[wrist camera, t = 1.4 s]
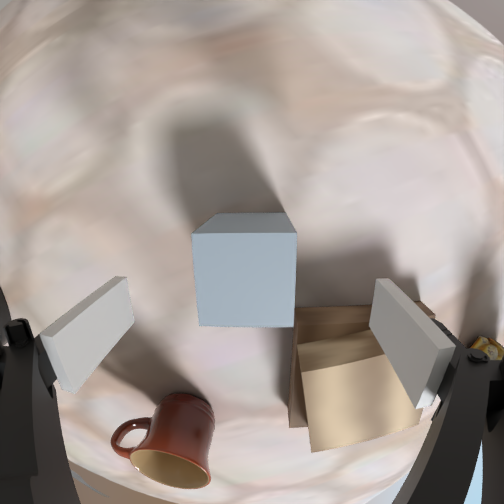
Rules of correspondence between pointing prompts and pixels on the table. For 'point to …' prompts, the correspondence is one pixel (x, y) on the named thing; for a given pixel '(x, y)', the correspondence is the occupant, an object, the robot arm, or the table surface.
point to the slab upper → (352, 392)
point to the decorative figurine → (489, 347)
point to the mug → (172, 442)
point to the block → (245, 270)
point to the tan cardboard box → (320, 328)
